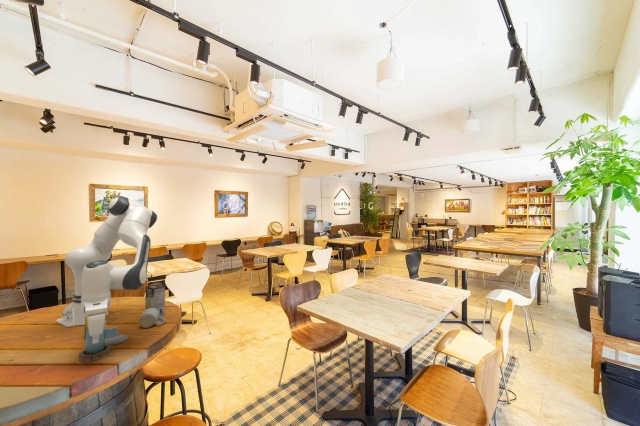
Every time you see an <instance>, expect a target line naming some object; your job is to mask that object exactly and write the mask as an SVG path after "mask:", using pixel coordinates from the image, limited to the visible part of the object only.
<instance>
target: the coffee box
mask: <svg viewBox="0 0 640 426" xmlns="http://www.w3.org/2000/svg"><path fill="white" fill-rule="evenodd" d="M144 304H145V307H144V311H145V310H146V309H148V308H155V309H157V310H158V311H159V313H160V316H159V317H162V318H163V317H165V314H166V313H165V309H166V307H165V306H166V286H164V285H161V284H158V283H157V284H153V285H152V284H151V285H146V286H145V302H144Z"/></svg>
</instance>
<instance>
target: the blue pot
mask: <svg viewBox="0 0 640 426" xmlns="http://www.w3.org/2000/svg"><path fill="white" fill-rule="evenodd" d="M118 331H119V327H118V326H112V327H109V328H107V329H105V327H104V328H103V332H102V334H100V335H99V342H98V343H95V344H93V343H92V336H90V335H89V329H88V330H86V338H85V349H86V351H85V353H87V354H88V355H89V354H95V353H99V352H102V350H103V349H104V347H105V339H107V338H111V337H116V336H118V333H119V332H118Z"/></svg>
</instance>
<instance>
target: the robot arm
mask: <svg viewBox="0 0 640 426" xmlns="http://www.w3.org/2000/svg"><path fill="white" fill-rule="evenodd" d="M107 210H108V213H110V215H108V217H107V218H106V219H105V220H104V221H103V222H102V223H101V225H100V226H98V228H97V229H96V230H95V231H94V232H93V233H94V234H93V235H94V236H93V239H92V240H91V242H90V243H89V244H88V245H83V246H78V247H75V248H73V249H71V250H70V251H68V252H67V253H66V254H65V256H64V257H65V258H64V263H65V265H66V266H68V268H70V269H71V271H72V274H73V277H74V294H73V295H71V296H72V297H71V298H72V299H71V302H70V304H68V305H67V306H66V307H64V309H63V311H61V316H62V317H60V318H57V319H56V320H55V321H56V323H58V324H60V325H62V326H63V327H65V328H69V327H75V326H85V316H87V321H88V329H89V335H90V336H92V343H93V344H95V343H98V342H99V335H100V334H102V332H103V328H104V322H105V315H106V312H107V316H108V315H109V312H108V310H109V308H110V307H111V302H112V293H111V290H127V291H128V290H129V291H137V290H139V289H140V288H142V287H143V286H144V285H145V283H146V282H147V277H148V264H149V258H150V252H151V242H152V241H151V238H150V236H149V235H148V234H147V233H148V230H149V229H150V228H152V227H153V226H154V225H155V223H156V222H157V220H158V215H157V213H156V212H155V211H153V210H151V209H150V208H147V206H146V205H143V204H141V203H139V202H137V201H135V200H132V199H130V198H128V197H126V196H123V195H119V196H116V197H115V198H113V199H112V200H111V201H110V203H109V204H108V208H107ZM119 241H121V242H122V243H124V244H126V245H128V246H130V247H132V248H136V254H135V256H134V257H135V259H134V263H133V264H131V265H112V264H110V261H108V260H109V259H110V258H111V256H112V252H113V250H114V248H115V246H116V244H117V243H119Z"/></svg>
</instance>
